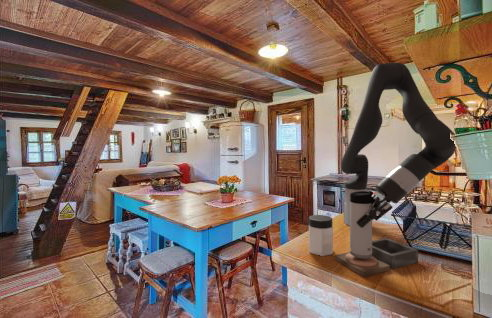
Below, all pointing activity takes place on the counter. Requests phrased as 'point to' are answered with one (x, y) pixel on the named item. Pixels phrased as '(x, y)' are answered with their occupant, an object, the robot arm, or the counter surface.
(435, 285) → the counter surface
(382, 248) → the mug dock
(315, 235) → the jar
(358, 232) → the travel mug
